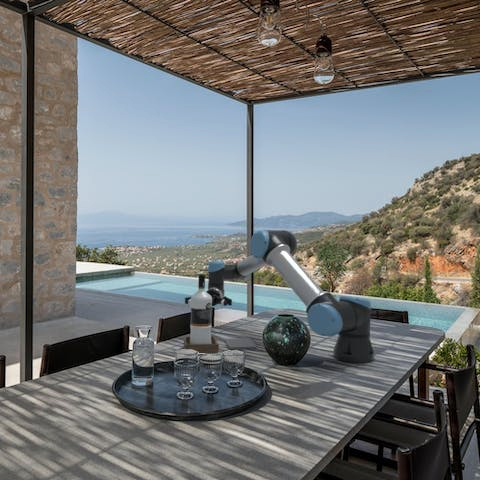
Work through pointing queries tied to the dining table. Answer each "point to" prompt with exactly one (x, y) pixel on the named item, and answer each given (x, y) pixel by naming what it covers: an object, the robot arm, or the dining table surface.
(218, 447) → the dining table surface
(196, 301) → the vodka
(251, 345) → the slate board
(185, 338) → the bottle well
